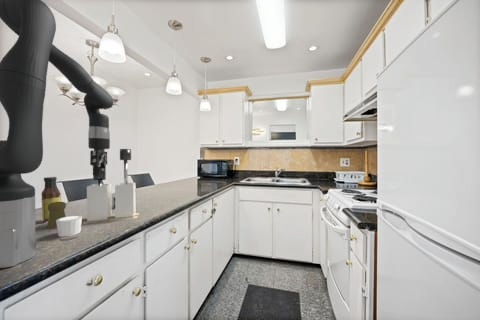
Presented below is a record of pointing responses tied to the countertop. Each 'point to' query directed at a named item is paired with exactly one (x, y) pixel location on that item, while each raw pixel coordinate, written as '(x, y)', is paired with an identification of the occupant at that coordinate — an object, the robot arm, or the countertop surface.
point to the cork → (55, 213)
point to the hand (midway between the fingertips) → (99, 174)
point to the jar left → (98, 202)
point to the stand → (112, 219)
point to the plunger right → (125, 162)
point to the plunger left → (100, 176)
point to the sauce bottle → (49, 196)
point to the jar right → (125, 200)
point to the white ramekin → (69, 226)
